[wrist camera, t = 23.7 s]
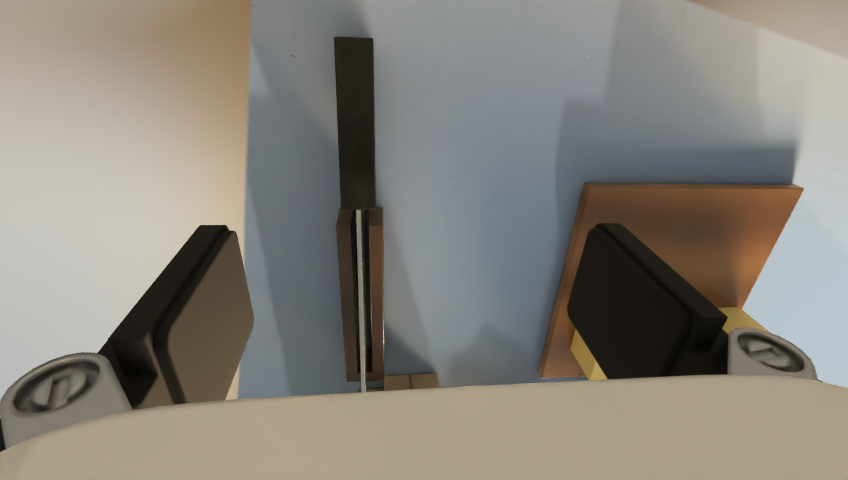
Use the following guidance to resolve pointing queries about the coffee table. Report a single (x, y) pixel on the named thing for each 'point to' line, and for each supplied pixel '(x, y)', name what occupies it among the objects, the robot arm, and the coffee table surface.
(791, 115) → the coffee table surface
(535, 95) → the coffee table surface
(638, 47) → the coffee table surface
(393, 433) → the robot arm
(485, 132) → the coffee table surface
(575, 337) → the butter slice
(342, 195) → the knife
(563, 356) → the board
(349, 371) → the knife holder
